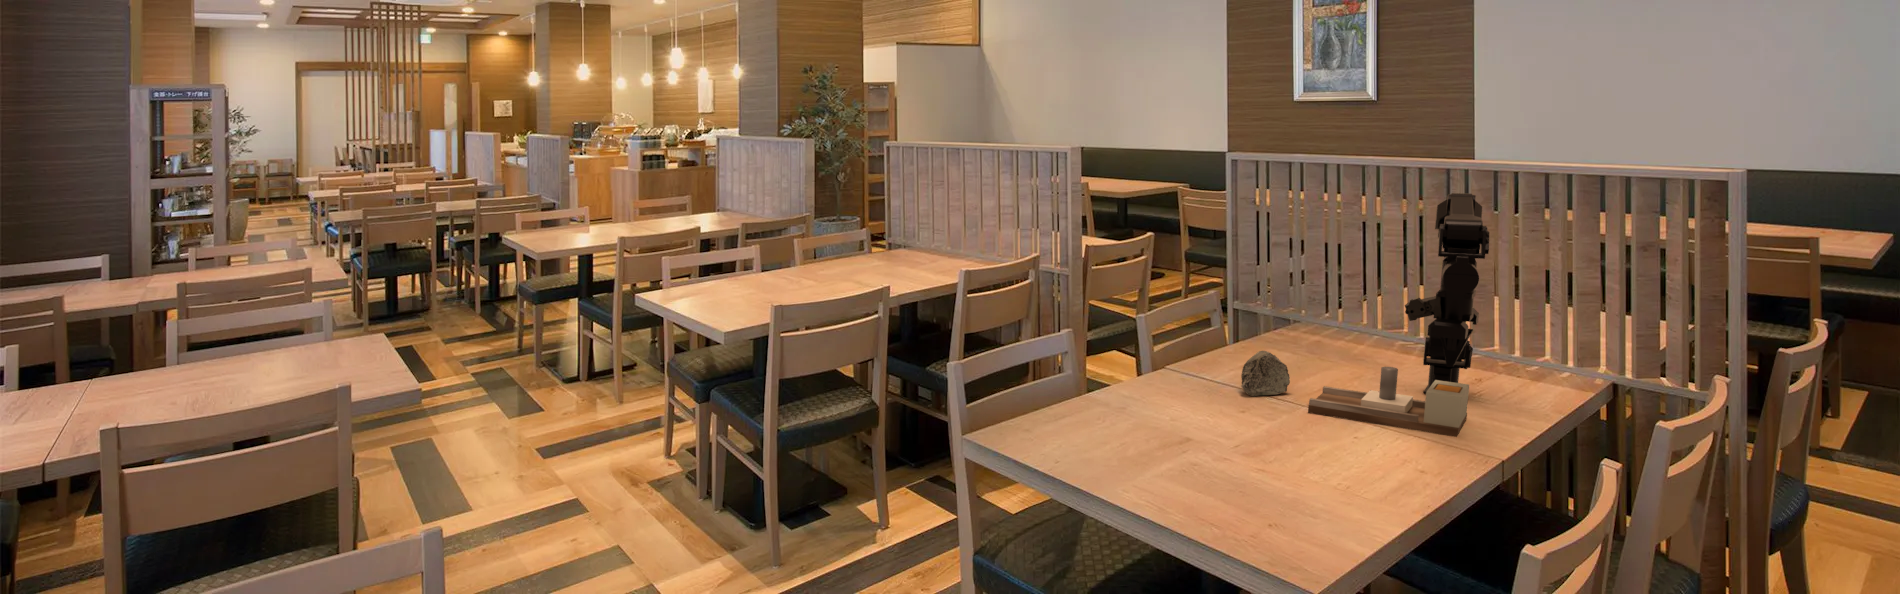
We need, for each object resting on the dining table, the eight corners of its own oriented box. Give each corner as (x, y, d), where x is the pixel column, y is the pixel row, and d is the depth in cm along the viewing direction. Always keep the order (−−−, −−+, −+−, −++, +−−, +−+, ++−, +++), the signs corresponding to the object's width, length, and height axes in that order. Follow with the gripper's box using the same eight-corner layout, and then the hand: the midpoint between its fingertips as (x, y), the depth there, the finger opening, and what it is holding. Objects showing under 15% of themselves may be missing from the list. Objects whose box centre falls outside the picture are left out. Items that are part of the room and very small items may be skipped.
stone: (1273, 352, 204) (1267, 340, 213) (1234, 380, 207) (1229, 367, 216) (1302, 386, 204) (1294, 373, 214) (1262, 414, 207) (1256, 399, 217)
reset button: (1436, 409, 190) (1438, 384, 189) (1458, 412, 187) (1461, 387, 186) (1432, 414, 186) (1434, 389, 185) (1455, 417, 184) (1458, 392, 183)
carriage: (1369, 399, 198) (1372, 361, 197) (1412, 405, 194) (1415, 367, 192) (1360, 409, 192) (1363, 370, 190) (1404, 416, 187) (1407, 376, 186)
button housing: (1432, 409, 193) (1435, 379, 192) (1466, 414, 189) (1469, 384, 188) (1423, 422, 185) (1426, 391, 184) (1458, 427, 181) (1461, 396, 180)
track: (1323, 398, 206) (1324, 385, 205) (1466, 420, 190) (1467, 407, 190) (1308, 412, 196) (1308, 399, 196) (1457, 437, 181) (1458, 423, 180)
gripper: (1419, 275, 194) (1413, 351, 197) (1401, 288, 179) (1394, 370, 182) (1482, 280, 188) (1474, 358, 191) (1468, 294, 173) (1460, 379, 176)
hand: (1450, 366), depth 185 cm, fingers closed
